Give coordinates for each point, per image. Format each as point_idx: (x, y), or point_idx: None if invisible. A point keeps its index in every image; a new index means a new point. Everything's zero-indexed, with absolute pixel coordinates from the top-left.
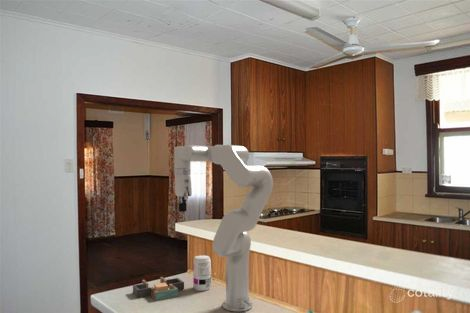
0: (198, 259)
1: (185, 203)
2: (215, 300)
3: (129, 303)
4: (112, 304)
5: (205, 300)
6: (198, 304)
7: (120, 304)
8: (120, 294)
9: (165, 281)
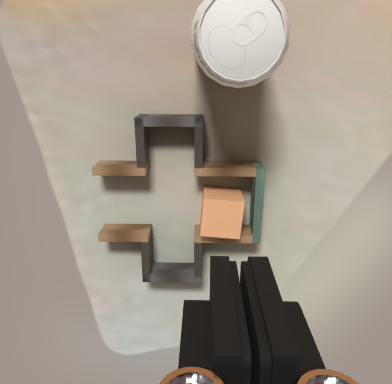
0: (265, 72)
1: (295, 365)
2: (373, 61)
3: None
4: None
5: (350, 94)
6: (366, 131)
7: None
8: (141, 299)
9: (145, 172)
